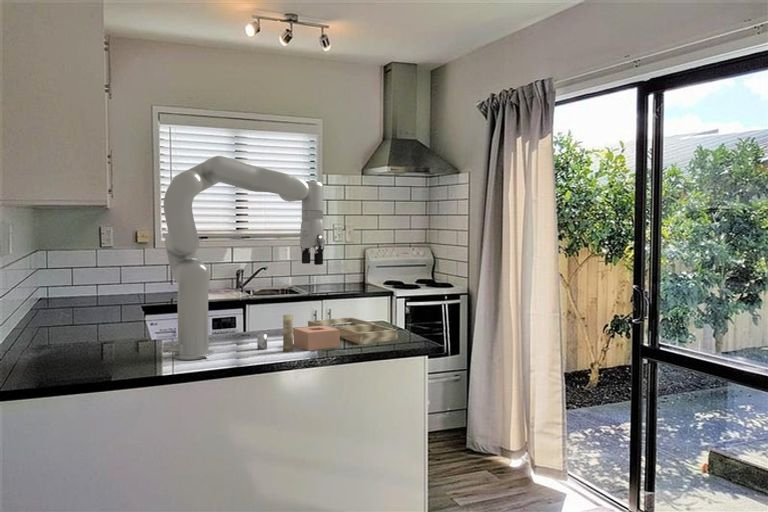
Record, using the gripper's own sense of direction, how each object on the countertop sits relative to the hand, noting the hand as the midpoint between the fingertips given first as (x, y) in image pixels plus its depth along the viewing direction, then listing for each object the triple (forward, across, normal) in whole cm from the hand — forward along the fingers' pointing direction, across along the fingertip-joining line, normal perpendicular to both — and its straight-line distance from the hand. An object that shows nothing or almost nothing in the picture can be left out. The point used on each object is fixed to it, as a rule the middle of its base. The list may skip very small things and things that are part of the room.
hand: (312, 264), depth 215 cm
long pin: (+28, +9, -14) cm, 33 cm away
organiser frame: (+28, -5, +21) cm, 35 cm away
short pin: (+28, +1, -19) cm, 34 cm away
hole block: (+28, +6, -2) cm, 29 cm away
